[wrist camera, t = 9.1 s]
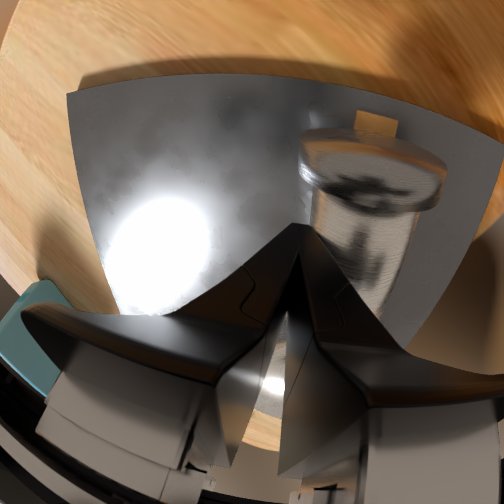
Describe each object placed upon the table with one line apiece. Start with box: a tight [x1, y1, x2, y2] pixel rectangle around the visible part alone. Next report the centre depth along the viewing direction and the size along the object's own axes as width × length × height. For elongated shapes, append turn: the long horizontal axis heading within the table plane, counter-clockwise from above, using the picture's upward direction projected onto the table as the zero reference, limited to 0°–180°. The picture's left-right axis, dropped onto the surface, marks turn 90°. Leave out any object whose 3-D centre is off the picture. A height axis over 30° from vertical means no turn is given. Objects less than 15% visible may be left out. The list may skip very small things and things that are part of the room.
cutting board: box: [66, 73, 504, 349], centre depth 16 cm, size 26×22×4 cm
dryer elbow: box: [254, 128, 448, 419], centre depth 12 cm, size 18×9×5 cm, turn 1°
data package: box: [0, 280, 74, 397], centre depth 26 cm, size 12×4×12 cm, turn 22°
